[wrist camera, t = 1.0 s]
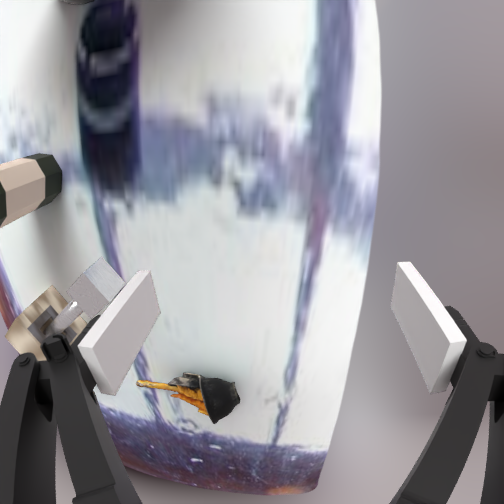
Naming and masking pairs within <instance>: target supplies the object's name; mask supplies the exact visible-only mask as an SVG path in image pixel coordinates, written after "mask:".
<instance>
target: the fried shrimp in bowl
mask: <svg viewBox="0 0 504 504" xmlns="http://www.w3.org/2000/svg"><path fill="white" fill-rule="evenodd" d="M234 384H235V382H233V383H230V382H227V381H223V380H221V379H218V378H204V377H203V376H201V375H196V374H191V373H183V377H177V378H174V379H173V380H172V381H171V382H169V383H168V384H165V383H157V382H150V381H147V380H145V381H143V380H139V381H137V383H136V385H137V386H140V387H147V388H148V387H150V388H158V389H164V390H166V389H167V390H171V391H174V392H176V391H177V392H178V393H179V394H172V395H171V396H172V397H178V398H180V399H182V400H184V401H186V402H188V403H190V404H192V405H194V406H196V407H198V408H199V410H198V412H200V413H203V414H205V415H208V416H209V417H210V419H211V421H212V422H213V423H214V424H216V423H217V422H218V421H219V420H220V419H222V418H224V417H225V416H227V415H228V414H229V413H231V412H232V410H233V409H234V407H235V406H236V405H237V404H239V403H240V397H239V395H238V393H237V391H236V389H235V386H234Z"/></svg>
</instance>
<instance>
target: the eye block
mask: <svg viewBox="0 0 504 504" xmlns="http://www.w3.org/2000/svg"><path fill="white" fill-rule="evenodd" d="M67 305H68V303H67V302H66V300H65V299H64V298H63V297H62V296H61V295H60V294H59V292H58V291H57V290H56V289H55V288H54V287H53V285H52V286H51V287H49V288H48V289H47V290H46V291H45V292H44V293H43V294H42V295H40V296H39V297H38V298H37V299H36V300H35V301H34V302H33V303H32V304H31V305H30V306H29V307H27V308H26V309H25V310H24V311H23V312H22V313H21V314H20V315H19V316H18V317H17V318H16V319H15V320H14V322H13V324H12V325H11V327H10V329H9V330H8V332H7V334H6V335H5V337H6V339H7V340H8V341H9V342H10V343H11V344H12V345H13V347H14V348H15V349H16V350H17V351H18V352H19V353H20V354H23V353H27V352H31V353H33V354H34V355H35V356H36V358H37V360H38V361H43V360H46V358H45V356H44V354H43V352H42V350H41V348H40V345H41V343H42V341H43V340H44V339H45V338H47V337H46V336H45V335H44V334H43V332H44V331H45V329H46V328H47V327H48V326H49V325H50V324H51V323H52V321H53V320H54V319H55V318H56V317H57V316H58V315H59V314H60V313H61V311H62V310H63V309H64V308H65V307H66V306H67ZM86 325H87V323H86V322H85V321H84V320H83V319H82V318H81V317H80V316H78V317H77V318H76V319H75V320H74V321H73V322H72V323H71V324H70V325H69V326H68V327H67V328H66V329H65V330H64V331H63V332H62V333H61V334H64V335H65V336H66V338H67V340H68V342H69V344H70V346H71V344H72V343H73V342H74V340H75V339H76V338H77V337H78V335H79V334H80V333H81V332H82V330H83V329H84V328H85V327H86Z"/></svg>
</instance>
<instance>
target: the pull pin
mask: <svg viewBox="0 0 504 504" xmlns="http://www.w3.org/2000/svg"><path fill="white" fill-rule="evenodd" d="M125 284H126V283H125V282H124V281H123V279H122V278H121V277H120V276H119V275H118V274H117V273H116V272H115V271H114V269H113V268H112V267H111V266H110V265H109V264H108V263H107V261H106V260H105V259H104V258H103V257H101V258H99V259H98V260H97V261H96V262H95V263H94V264H93V265H91V266H90V267H89V268H88V269H87V270H86V271H85V272H84V273H83V274H82V275H81V276H80V277H79V278H78V279H77V280H76V281H75V283H74V284H73V285H72V286H71V287H70V288H69V289H68V290H67V293H68V294H69V295H70V296H71V298H72V299H73V300H72V301H71V302H70V303H69V304H68V305H67V306H66V307H65V308H64V309H63V310H62V311H61V313H60V314H59V315H58V316H57V317H56V318H55V319H54V320H53V321H52V323H51V324H50V325H49V326H48V327H47V328H46V329H45V331H44V332H43V334H44V335H45V336H46V337H48V336H50V335H52V334H57V333H62V332H63V331H64V330H65V329H66V328H67V327H68V326H69V325H70V324H71V323H72V322H73V321H74V320H75V319H76V318H77V317H78V316H79V315H80V314H81V313H82V312H85V313H86V314H87V315H88V316H89V317H90V318H91V319H92V318H93V317H94V316H95V315H96V314H97V313H98V312H100V311H101V310H102V309H103V308H104V307H105V306H106V305H108V304H109V303H110V302H111V300H112V299H113V298H114V297H115V296H116V294H117V293H118V292H119V291H120V290H121V289H122V287H123V286H124V285H125Z"/></svg>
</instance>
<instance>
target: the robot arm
mask: <svg viewBox="0 0 504 504" xmlns="http://www.w3.org/2000/svg"><path fill="white" fill-rule="evenodd" d="M62 1H65V2H67V3H70V4H85V3H88V2H91V1H94V0H62ZM391 309H392V311H393V313H394V315H395V317H396V319H397V321H398V323H399V325H400V327H401V329H402V332H403V334H404V336H405V338H406V340H407V342H408V344H409V347H410V349H411V351H412V353H413V355H414V358H415V360H416V362H417V364H418V367H419V369H420V371H421V374H422V376H423V378H424V380H425V383H426V385H427V388H428V390H429V393H430V394H434V393H439V392H444V391H446V389H447V387H448V385H449V382H451V384H452V386H453V390H452V392H451V394H450V396H449V398H448V400H447V402H446V406H445V408H444V410H443V412H442V415H441V416H440V419H439V421H438V423H437V425H436V427H435V429H434V431H433V433H432V435H431V436H430V439H429V440H428V442H427V444H426V446H425V448H424V449H423V451H422V453H421V455H420V457H419V459H418V460H417V462H416V464H415V465H414V467H413V468H412V470H411V472H410V474H409V475H408V477H407V478H406V480H405V481H404V483H403V484H402V486H401V487H400V489H399V490H398V492H397V494H396V495H395V496H394V498H393V499H392V501H391V502H390V503H389V504H446V503H447V501H448V499H449V497H450V495H451V493H452V491H453V489H454V487H455V485H456V483H457V481H458V479H459V477H460V474H461V472H462V470H463V468H464V465H465V463H466V461H467V458H468V456H469V454H470V451H471V448H472V446H473V443H474V440H475V438H476V435H477V432H478V430H479V427H480V424H481V421H482V417H483V415H484V411H485V408H486V405H487V401H490V422H489V423H490V424H489V441H488V453H487V463H486V471H485V479H484V486H483V491H482V497H481V503H480V504H504V354H498V352H497V350H496V349H495V348H494V347H493V346H492V345H490V344H488V343H483V342H480V341H479V340H478V338H477V337H476V335H475V334H474V333H473V331H472V330H471V328H470V327H469V325H467V323H466V321H465V320H463V317H462V316H461V314H460V313H459V312H458V311H457V310H455V309H454V308H453V307H451V306H446V307H444V306H443V305H442V303H441V302H440V301H439V299H438V298H437V296H436V295H435V294H434V292H433V291H432V290H431V288H430V287H429V286H428V284H427V283H426V282H425V280H424V279H423V278H422V276H421V275H420V274H419V273H418V271H417V270H416V269H415V267H414V266H413V265H412V264H411V262H398V263H397V268H396V276H395V282H394V289H393V296H392V301H391ZM160 313H161V312H160V308H159V304H158V300H157V296H156V292H155V288H154V284H153V280H152V275H151V271H137V273H136V274H135V275H134V276H133V277H132V279H131V280H130V281H129V282H128V283H127V284H126V286H125V287H124V288H123V289H122V290H121V292H120V293H119V294H118V295H117V297H116V298H115V299H114V300H113V301H112V303H111V304H110V305H109V306H108V308H107V309H106V310H105V311H104V313H103V314H102V315H98V316H96V317H95V318H93V319H92V320H90V322H89V323H88V324H87V325H86V327H85V328H84V329H83V330H82V332H81V333H80V334H79V335H78V337H77V338H76V339H75V340H74V342H73V343H72V344H71V346H70V344H69V342H68V340H67V338H66V336H65V335H64V334H61V333H57V334H52V335H50V336H48V337H47V338H45V339H44V340H43V341H42V343H41V345H40V348H41V350H42V352H43V354H44V356H45V358H46V360H43V361H38V360H37V358H36V356H35V355H34V354H33V353H31V352H27V353H23V354H21V355H19V356H18V357H17V358H16V359H15V360H14V362H13V365H12V368H11V371H10V374H9V377H8V380H7V384H6V388H5V390H4V394H3V398H2V401H1V405H0V504H56V493H55V492H56V490H55V455H56V433H57V425H58V429H59V434H60V438H61V443H62V447H63V451H64V455H65V459H66V462H67V466H68V469H69V473H70V476H71V479H72V483H73V486H74V489H75V492H76V497H75V498H73V500H72V502H73V504H142V502H141V500H140V498H139V496H138V495H137V493H136V491H135V489H134V487H133V485H132V483H131V481H130V479H129V477H128V475H127V473H126V470H125V468H124V466H123V464H122V462H121V459H120V457H119V455H118V453H117V450H116V448H115V445H114V443H113V441H112V438H111V436H110V433H109V431H108V428H107V426H106V423H105V420H104V418H103V415H102V412H101V409H100V406H99V404H98V401H97V398H96V395H95V393H94V391H93V389H94V387H95V385H96V384H97V386H98V388H99V390H100V392H101V393H103V394H109V395H114V396H115V395H116V394H117V392H118V390H119V388H120V386H121V384H122V382H123V380H124V378H125V376H126V375H127V373H128V371H129V369H130V367H131V365H132V363H133V362H134V360H135V358H136V356H137V354H138V352H139V351H140V349H141V347H142V345H143V343H144V342H145V340H146V338H147V336H148V334H149V333H150V331H151V329H152V327H153V325H154V324H155V322H156V320H157V318H158V317H159V315H160Z"/></svg>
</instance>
